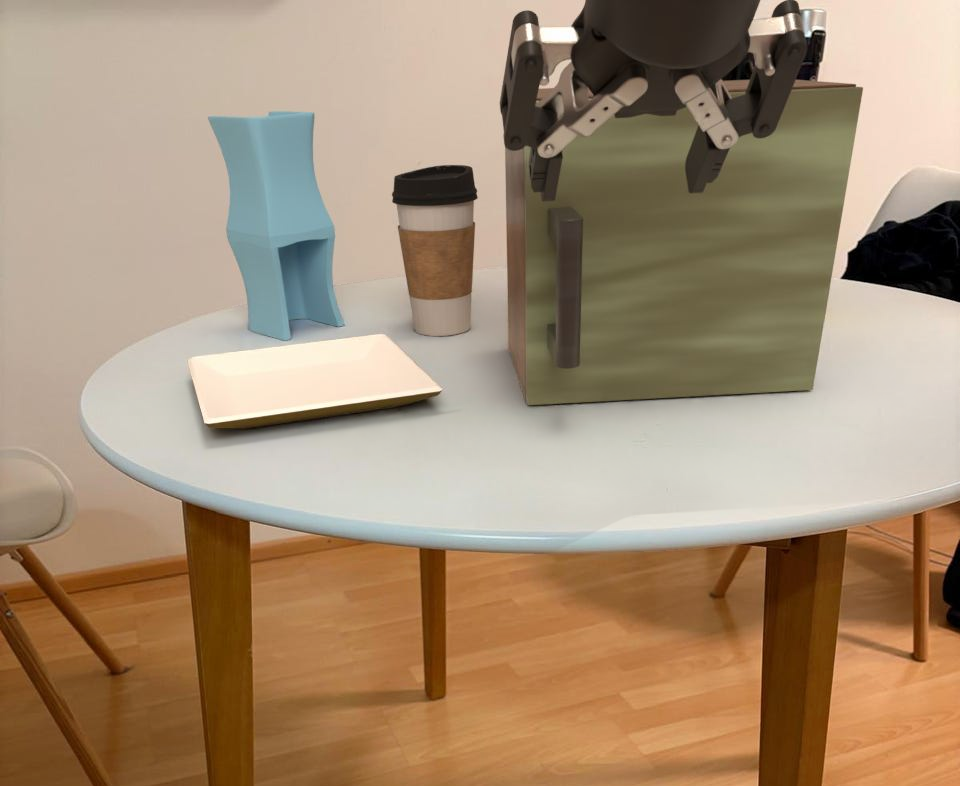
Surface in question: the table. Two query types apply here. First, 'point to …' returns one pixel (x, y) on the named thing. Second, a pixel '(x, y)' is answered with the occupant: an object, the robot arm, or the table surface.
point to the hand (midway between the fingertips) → (619, 184)
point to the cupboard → (517, 232)
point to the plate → (306, 381)
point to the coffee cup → (437, 245)
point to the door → (686, 258)
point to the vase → (278, 220)
